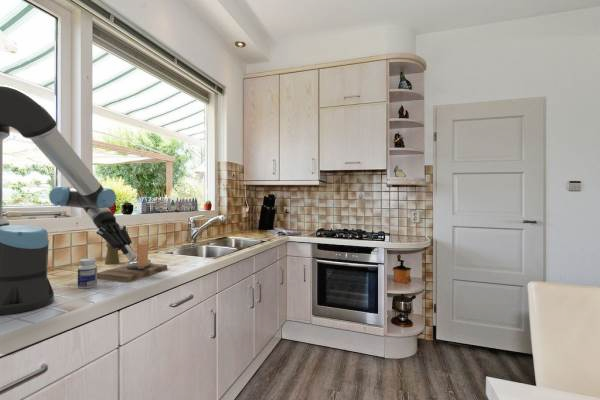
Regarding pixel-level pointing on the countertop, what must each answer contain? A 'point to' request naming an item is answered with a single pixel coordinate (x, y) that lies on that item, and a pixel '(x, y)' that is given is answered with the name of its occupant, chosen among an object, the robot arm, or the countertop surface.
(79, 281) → the pill bottle
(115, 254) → the olive flared column
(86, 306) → the countertop surface
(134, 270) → the wooden board
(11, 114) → the robot arm
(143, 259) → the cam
